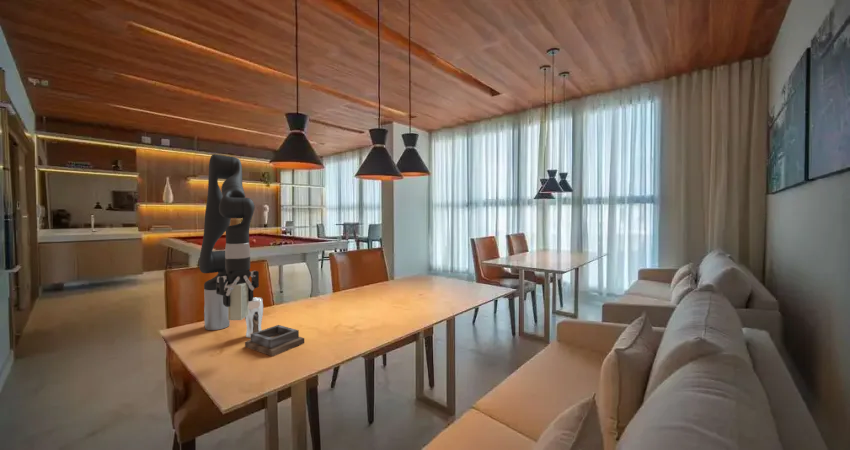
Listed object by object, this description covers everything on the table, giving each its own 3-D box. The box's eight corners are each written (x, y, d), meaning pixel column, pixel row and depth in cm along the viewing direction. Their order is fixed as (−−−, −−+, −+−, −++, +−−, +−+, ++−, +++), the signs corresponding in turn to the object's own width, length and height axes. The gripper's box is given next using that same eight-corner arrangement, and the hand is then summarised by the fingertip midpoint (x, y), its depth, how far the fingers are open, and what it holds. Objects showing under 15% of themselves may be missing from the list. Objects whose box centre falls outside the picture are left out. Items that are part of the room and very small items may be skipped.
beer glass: (255, 339, 139) (255, 301, 138) (240, 337, 140) (239, 300, 139) (267, 333, 145) (266, 297, 145) (252, 331, 147) (251, 296, 146)
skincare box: (236, 315, 123) (235, 280, 123) (249, 314, 123) (249, 280, 123) (227, 320, 117) (227, 284, 116) (241, 320, 117) (241, 284, 117)
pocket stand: (245, 346, 131) (244, 333, 131) (277, 335, 143) (277, 323, 143) (272, 356, 123) (272, 342, 123) (304, 343, 135) (304, 330, 135)
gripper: (250, 253, 127) (251, 297, 128) (210, 257, 115) (211, 307, 116) (263, 254, 123) (264, 300, 124) (223, 259, 111) (224, 310, 112)
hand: (238, 303), depth 120 cm, fingers closed on skincare box, 7 cm apart
